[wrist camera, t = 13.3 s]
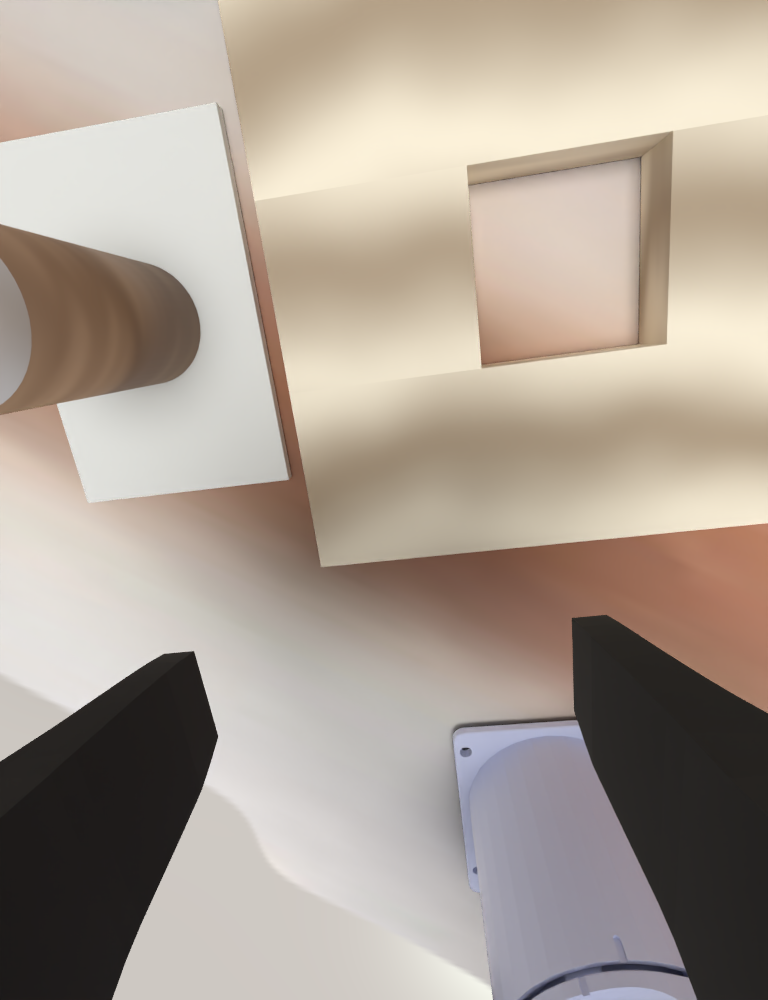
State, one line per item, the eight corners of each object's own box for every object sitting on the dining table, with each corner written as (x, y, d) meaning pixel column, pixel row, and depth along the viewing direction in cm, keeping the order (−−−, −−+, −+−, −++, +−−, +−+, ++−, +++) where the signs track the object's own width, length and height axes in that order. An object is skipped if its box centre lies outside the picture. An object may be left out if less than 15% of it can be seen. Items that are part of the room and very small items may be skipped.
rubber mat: (291, 476, 19) (288, 479, 19) (95, 499, 20) (88, 502, 20) (221, 109, 16) (215, 102, 15) (-12, 152, 17) (-25, 147, 16)
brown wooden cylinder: (211, 377, 18) (61, 409, 10) (105, 390, 18) (-117, 430, 11) (185, 254, 17) (-8, 186, 9) (71, 270, 17) (-207, 218, 9)
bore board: (811, 496, 18) (857, 514, 17) (330, 546, 20) (321, 567, 18) (888, -153, 13) (968, -236, 11) (231, -16, 15) (205, -68, 13)
